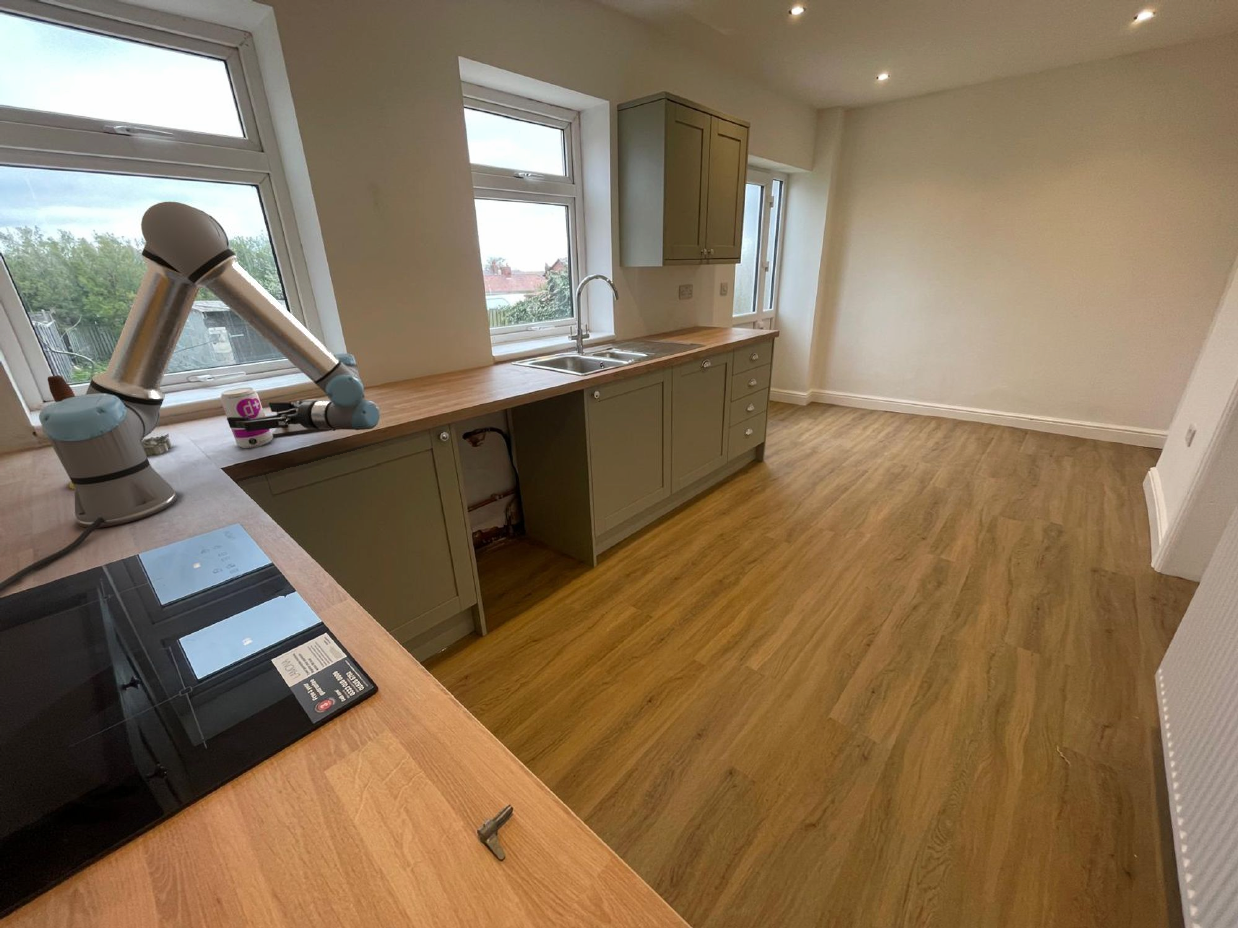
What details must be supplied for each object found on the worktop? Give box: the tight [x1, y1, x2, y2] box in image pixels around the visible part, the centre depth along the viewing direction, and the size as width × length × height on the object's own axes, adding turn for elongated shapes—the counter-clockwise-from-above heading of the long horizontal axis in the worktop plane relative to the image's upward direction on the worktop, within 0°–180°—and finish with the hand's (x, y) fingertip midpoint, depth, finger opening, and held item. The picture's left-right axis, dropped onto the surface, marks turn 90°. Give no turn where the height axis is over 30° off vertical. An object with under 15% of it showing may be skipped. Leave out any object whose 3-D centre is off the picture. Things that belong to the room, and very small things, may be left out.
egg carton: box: [140, 433, 173, 457], centre depth 136 cm, size 11×8×4 cm
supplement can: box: [219, 387, 273, 449], centre depth 137 cm, size 8×8×15 cm
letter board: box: [271, 398, 330, 438], centre depth 152 cm, size 13×25×8 cm, turn 111°
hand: (251, 414), depth 136 cm, fingers open, 13 cm apart
